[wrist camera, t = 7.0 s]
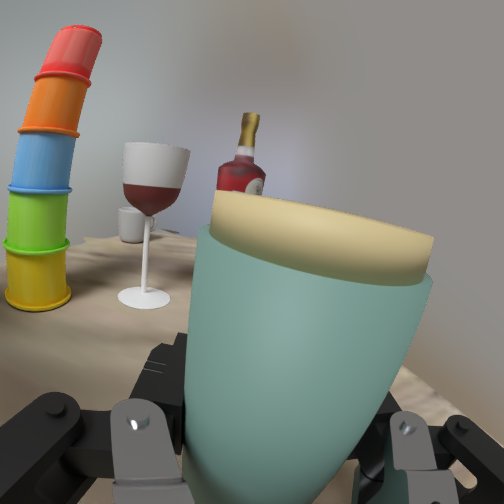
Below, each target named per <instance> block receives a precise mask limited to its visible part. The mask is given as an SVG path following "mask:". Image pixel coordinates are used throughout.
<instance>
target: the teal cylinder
mask: <svg viewBox="0 0 504 504" xmlns="http://www.w3.org/2000/svg"><path fill="white" fill-rule="evenodd" d="M433 241H434V237H432V236H429V235H427V234H424V233H421V232H417V231H414V230H411V229H408V228H404V227H401V226H398V225H393V224H390V223H387V222H383V221H379V220H375V219H371V218H367V217H364V216H359V215H355V214H351V213H347V212H342V211H338V210H333V209H329V208H324V207H320V206H315V205H310V204H304V203H300V202H295V201H289V200H284V199H278V198H272V197H266V196H260V195H254V194H247V193H240V192H232V191H222V190H216V191H215V196H214V202H213V208H212V215H211V222H210V224H208V225H205V226H202V227H201V228H200V229H199V232H198V240H197V247H196V255H195V264H194V272H193V282H192V291H191V301H190V312H189V323H188V335H187V349H186V364H185V382H184V392H185V393H184V421H183V453H182V462H183V480H185V481H186V482H187V484H188V486H189V489H190V491H191V494H192V497H193V500H194V502H195V504H311V503H312V502H313V501H314V500H315V499H316V497H317V496H318V495H319V494H320V493H321V492H322V490H323V489H324V488H325V487H326V485H327V484H328V483H329V482H330V480H331V479H332V478H333V477H334V475H335V474H336V473H337V471H338V470H339V469H340V468H341V466H342V465H343V463H344V462H345V461H346V459H347V458H348V457H349V455H350V454H351V452H352V451H353V449H354V448H355V446H356V445H357V443H358V442H359V440H360V439H361V437H362V436H363V434H364V433H365V431H366V429H367V428H368V426H369V425H370V423H371V421H372V420H373V418H374V416H375V415H376V413H377V411H378V409H379V408H380V406H381V404H382V402H383V400H384V399H385V397H386V395H387V393H388V391H389V389H390V387H391V385H392V383H393V381H394V379H395V377H396V375H397V373H398V371H399V369H400V367H401V365H402V363H403V361H404V358H405V356H406V354H407V352H408V349H409V347H410V344H411V342H412V340H413V337H414V335H415V332H416V330H417V327H418V325H419V322H420V320H421V317H422V314H423V311H424V308H425V306H426V303H427V300H428V297H429V294H430V290H431V287H432V284H433V281H432V278H431V277H430V276H429V275H428V274H427V273H426V269H427V265H428V261H429V258H430V254H431V250H432V245H433Z"/></svg>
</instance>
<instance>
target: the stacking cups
mask: <svg viewBox="0 0 504 504" xmlns="http://www.w3.org/2000/svg"><path fill="white" fill-rule="evenodd" d="M73 27H76V28H73ZM101 38H102V35H101V33H100V32H99V31H97V30H96V29H94V28H91V27H89V26H84V25H71V26H67V27H64V28H63V29H61V31H60V32H58V33H57V34H56V36H55V38H54V40H53V42H52V44H51V47H50V49H49V51H48V53H47V56H46V59H45V61H44V63H43V66H42V68H41V71H40V73H39V74H37V75H36V76H35V77H34V80H35V82H36V83H35V86H34V88H33V92H32V95H31V98H30V101H29V104H28V108H27V112H26V115H25V119H24V123H23V126H22V127H21V128H19V129H18V133H20V137H19V141H18V146H17V151H16V156H15V162H14V168H13V176H12V183H11V185H8V186H7V189H8V190H9V191H10V194H9V207H8V224H7V238H5V239H4V240H3V247H4V248H5V249H6V260H7V277H8V287H7V288H6V290H5V298H6V300H7V302H8V303H9V304H10V305H12V306H14V307H15V308H18V309H21V310H25V311H46V310H51V309H54V308H57V307H59V306H61V305H63V304H65V303H66V302H67V301H68V300H69V298H70V296H71V289H70V287H69V286H68V285H67V284H66V264H65V250H66V249H67V248H68V247H69V245H70V242H69V240H68V239H67V238H65V233H66V232H65V231H66V215H67V203H68V193H71V192H72V188H70V187H68V186H69V178H70V171H71V164H72V158H73V152H74V147H75V141H76V138H78V137H79V136H80V134H79V133H78V132H76V131H77V127H78V122H79V118H80V114H81V109H82V106H83V102H84V98H85V95H86V92H87V88H89V87H90V86H91V81H90V80H89V78H90V75H91V72H92V69H93V66H94V63H95V60H96V57H97V55H98V52H99V49H100V47H101V44H102V39H101Z"/></svg>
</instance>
